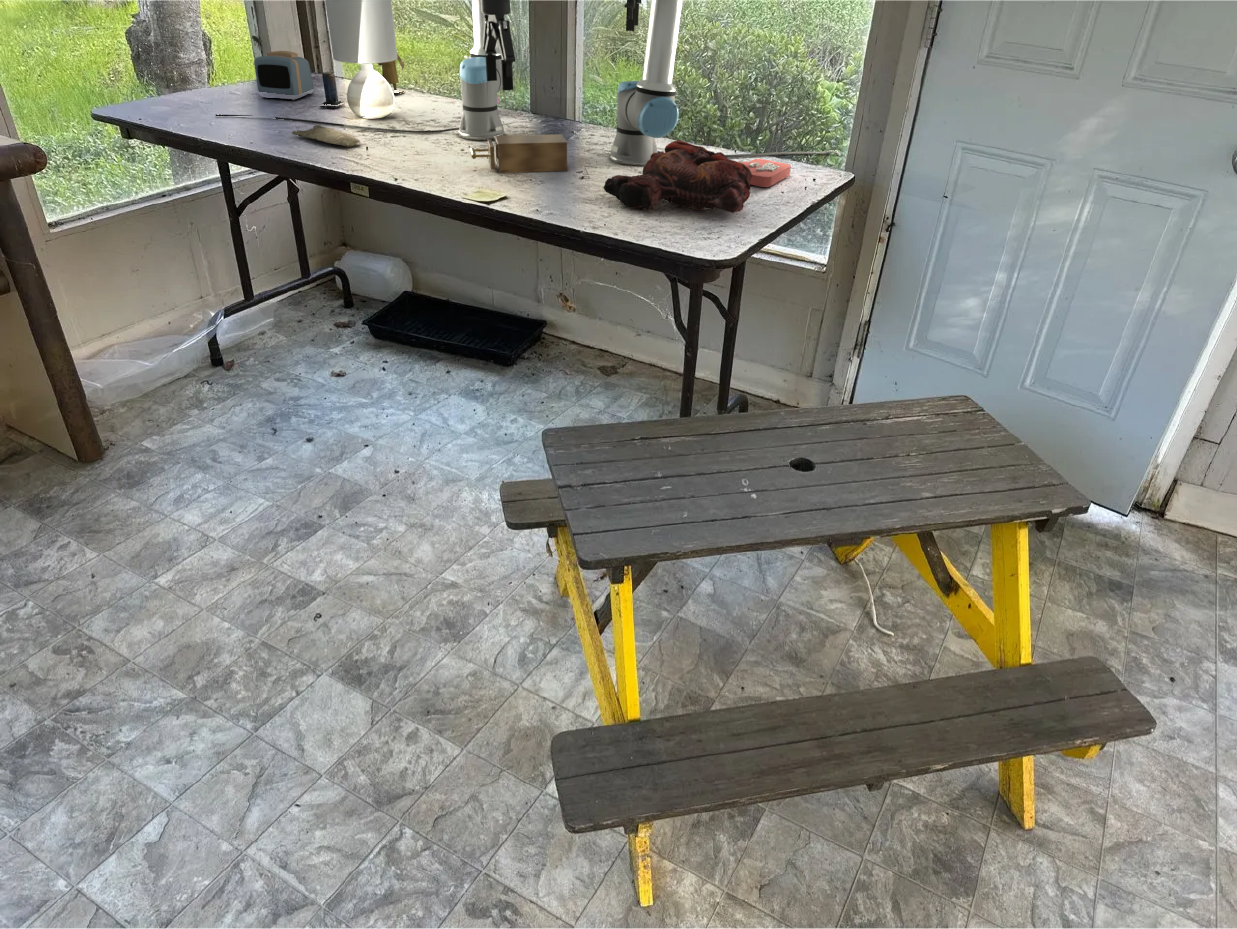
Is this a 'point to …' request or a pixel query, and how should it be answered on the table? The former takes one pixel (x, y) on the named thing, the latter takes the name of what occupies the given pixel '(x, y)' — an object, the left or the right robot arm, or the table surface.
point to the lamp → (364, 51)
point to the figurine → (391, 72)
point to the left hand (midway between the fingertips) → (632, 28)
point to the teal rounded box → (283, 73)
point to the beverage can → (330, 90)
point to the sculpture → (685, 180)
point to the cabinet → (531, 153)
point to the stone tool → (328, 136)
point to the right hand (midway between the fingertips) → (499, 85)
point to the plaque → (767, 172)
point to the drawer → (490, 153)
